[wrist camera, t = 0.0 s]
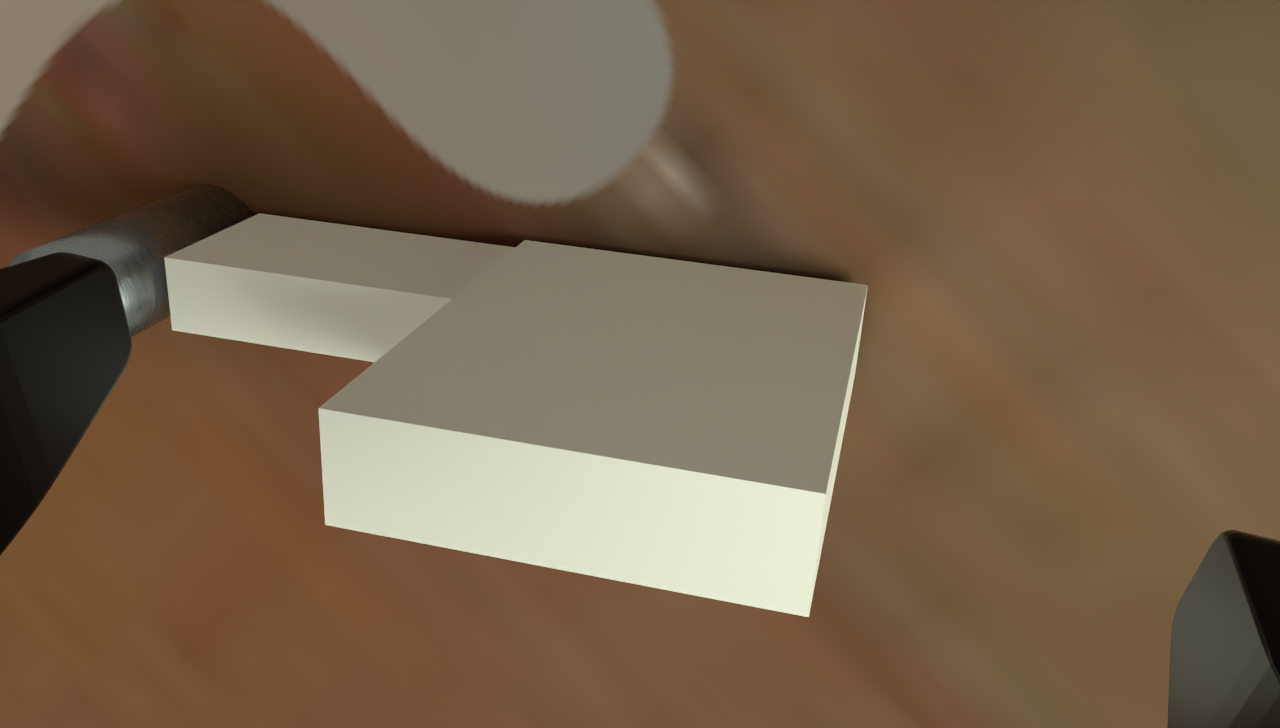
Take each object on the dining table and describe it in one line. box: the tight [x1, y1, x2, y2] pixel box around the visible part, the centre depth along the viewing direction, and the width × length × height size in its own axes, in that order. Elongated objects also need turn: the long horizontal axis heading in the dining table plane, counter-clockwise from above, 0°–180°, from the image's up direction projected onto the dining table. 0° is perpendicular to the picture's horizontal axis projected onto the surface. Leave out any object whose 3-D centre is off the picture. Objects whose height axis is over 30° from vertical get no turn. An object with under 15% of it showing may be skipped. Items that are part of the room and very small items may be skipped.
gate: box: [164, 213, 868, 617], centre depth 21 cm, size 14×2×9 cm, turn 87°
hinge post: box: [7, 185, 252, 337], centre depth 25 cm, size 2×2×6 cm
